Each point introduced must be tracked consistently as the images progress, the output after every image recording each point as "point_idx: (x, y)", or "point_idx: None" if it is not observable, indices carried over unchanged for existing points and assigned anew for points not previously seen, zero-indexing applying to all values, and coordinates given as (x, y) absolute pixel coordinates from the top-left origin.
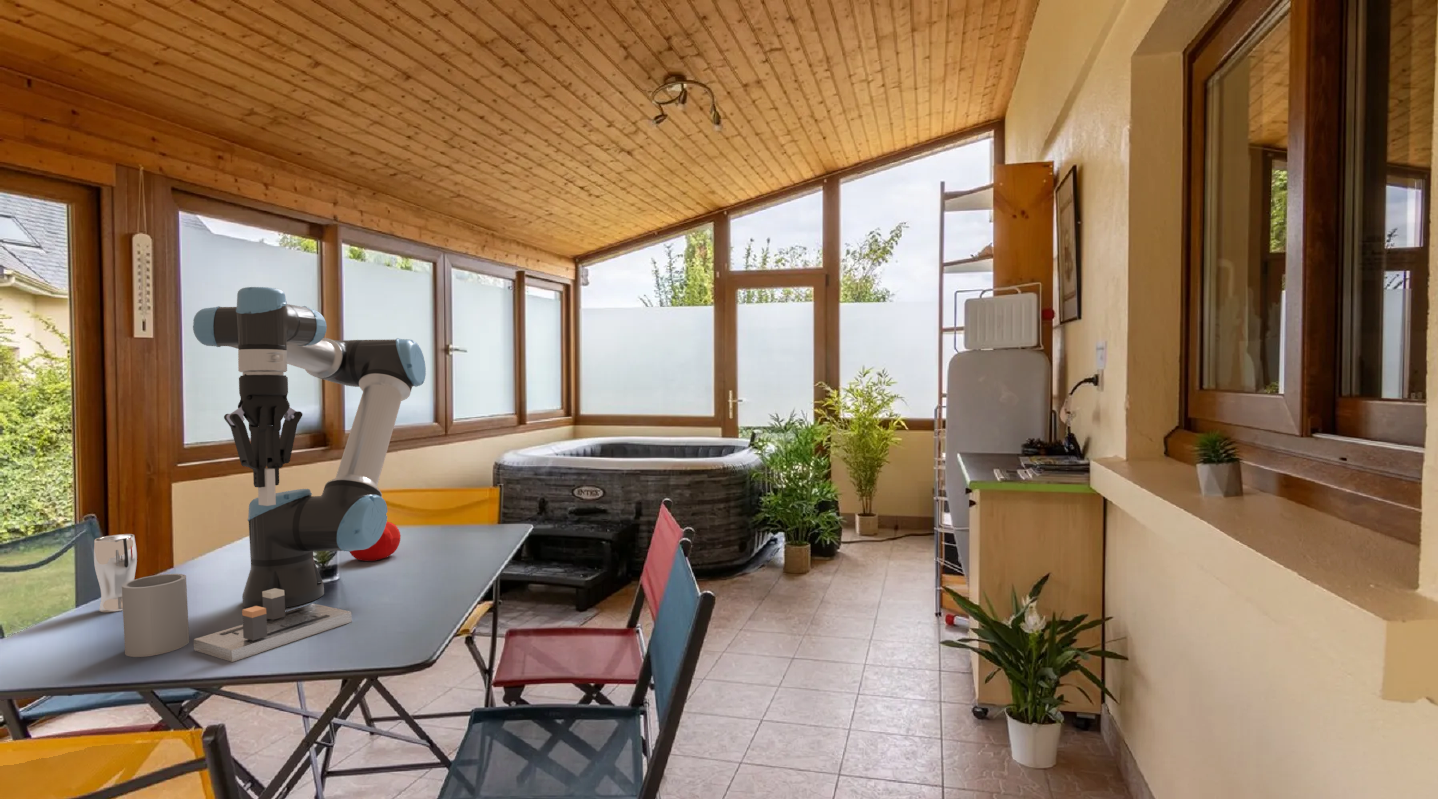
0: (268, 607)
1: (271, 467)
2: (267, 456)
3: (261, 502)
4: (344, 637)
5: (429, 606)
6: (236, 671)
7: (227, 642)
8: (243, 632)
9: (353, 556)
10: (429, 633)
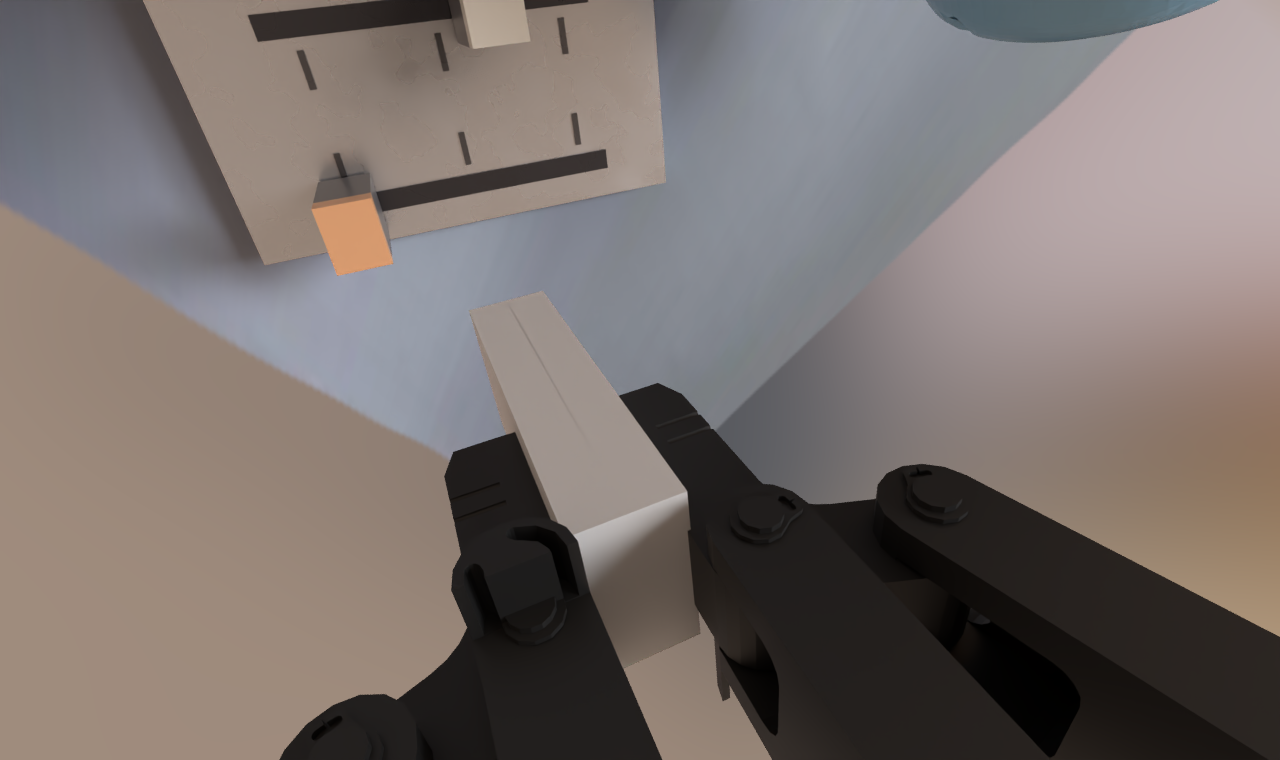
0: (456, 15)
1: (700, 601)
2: (792, 685)
3: (485, 361)
4: (575, 293)
5: (827, 224)
6: (268, 339)
7: (262, 164)
8: (317, 187)
9: None
10: (698, 412)
